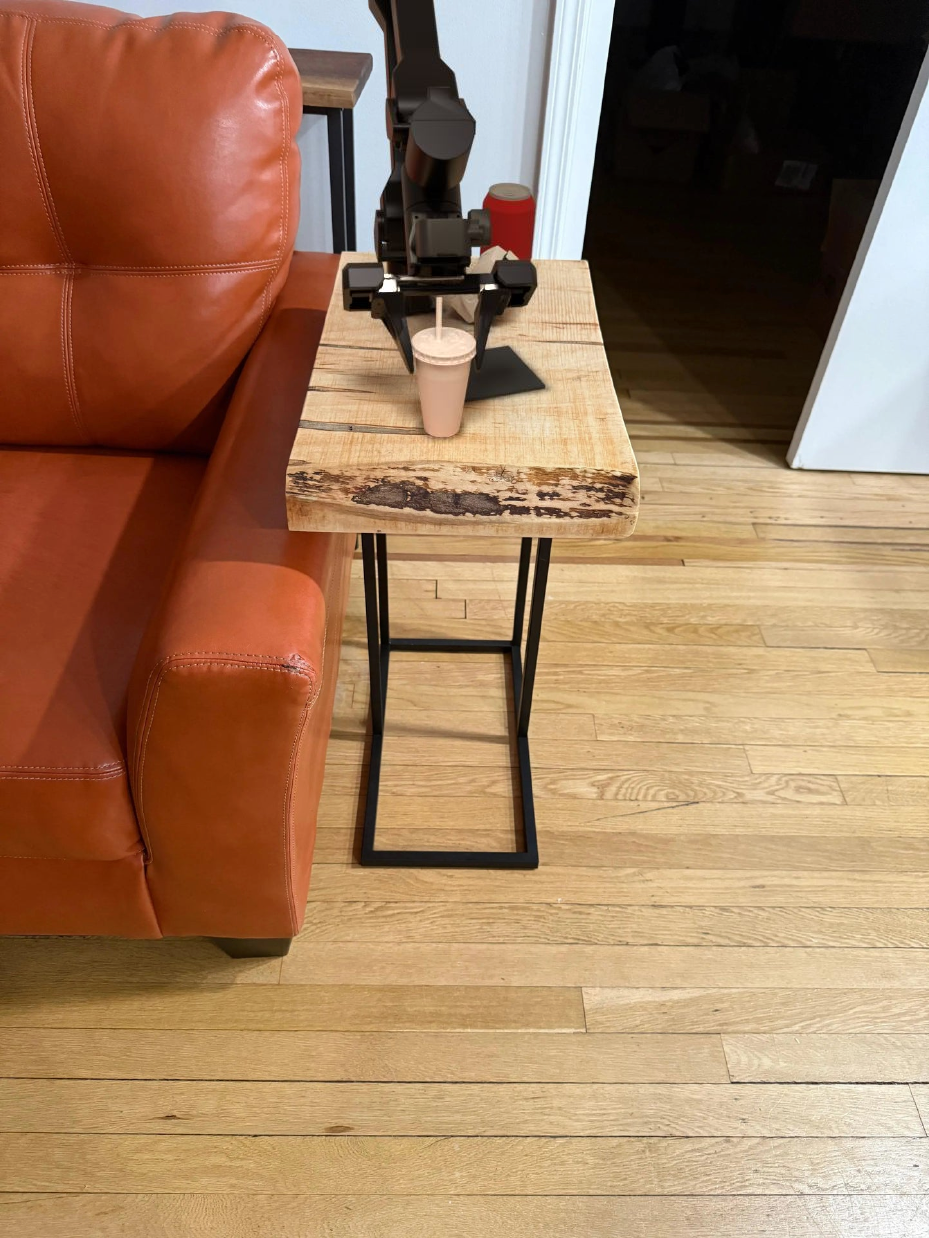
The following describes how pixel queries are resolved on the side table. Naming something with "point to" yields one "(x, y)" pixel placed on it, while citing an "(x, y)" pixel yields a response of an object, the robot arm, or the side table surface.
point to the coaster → (500, 375)
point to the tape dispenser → (485, 264)
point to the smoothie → (442, 374)
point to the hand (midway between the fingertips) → (444, 372)
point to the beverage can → (511, 218)
